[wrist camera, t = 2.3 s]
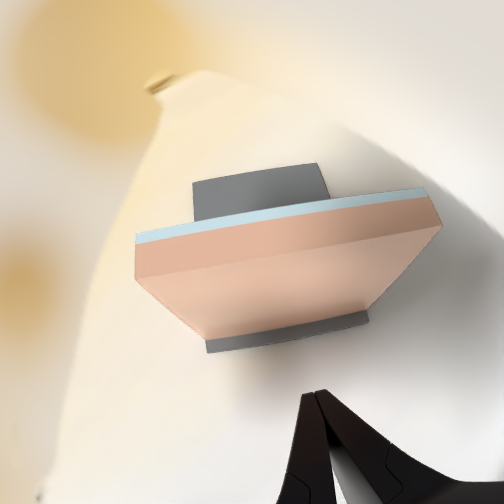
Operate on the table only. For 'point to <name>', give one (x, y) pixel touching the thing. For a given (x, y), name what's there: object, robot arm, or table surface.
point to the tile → (284, 261)
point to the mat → (259, 198)
